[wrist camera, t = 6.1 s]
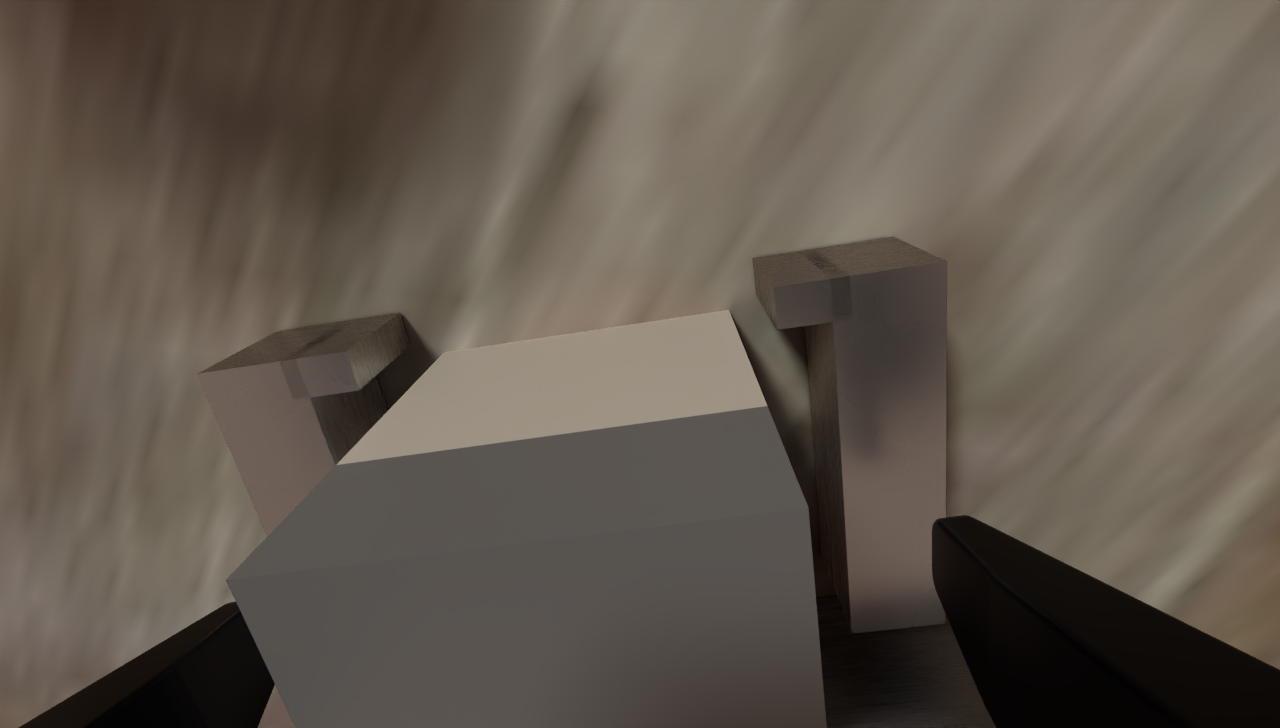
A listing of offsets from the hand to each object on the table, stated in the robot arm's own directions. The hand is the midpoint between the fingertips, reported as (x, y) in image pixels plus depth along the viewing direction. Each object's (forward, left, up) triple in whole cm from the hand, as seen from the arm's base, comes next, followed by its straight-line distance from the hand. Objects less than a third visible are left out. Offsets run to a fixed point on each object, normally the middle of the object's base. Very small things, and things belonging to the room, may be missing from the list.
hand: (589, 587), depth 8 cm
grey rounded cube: (0, 0, -4) cm, 4 cm away
